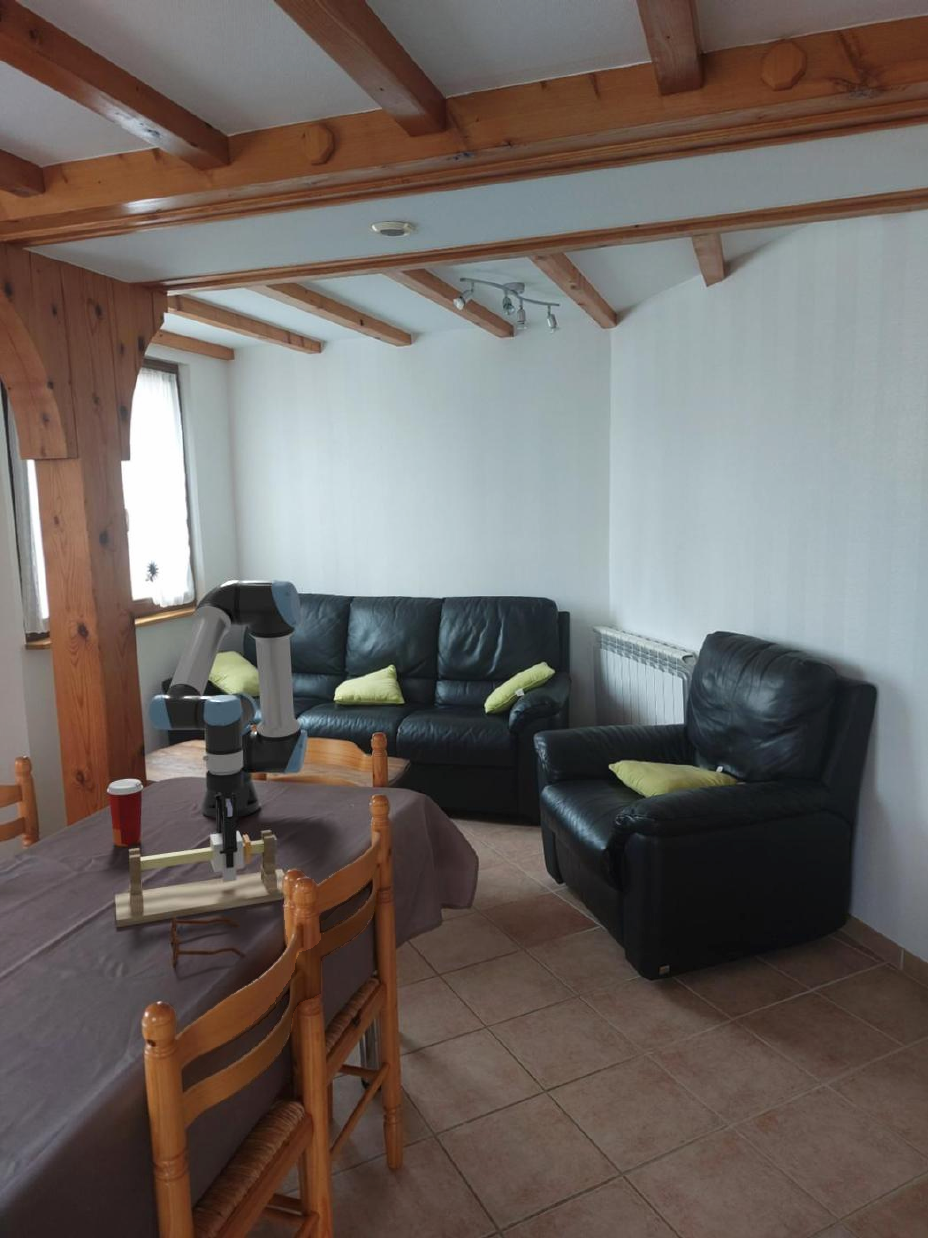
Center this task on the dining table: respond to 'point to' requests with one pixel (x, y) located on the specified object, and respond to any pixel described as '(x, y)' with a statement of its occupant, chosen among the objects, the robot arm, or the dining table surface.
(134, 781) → the coffee cup
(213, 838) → the sleeve
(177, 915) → the wooden rod stand
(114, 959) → the dining table surface
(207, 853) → the pale yellow long bar
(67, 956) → the dining table surface
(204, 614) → the robot arm
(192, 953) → the glasses
